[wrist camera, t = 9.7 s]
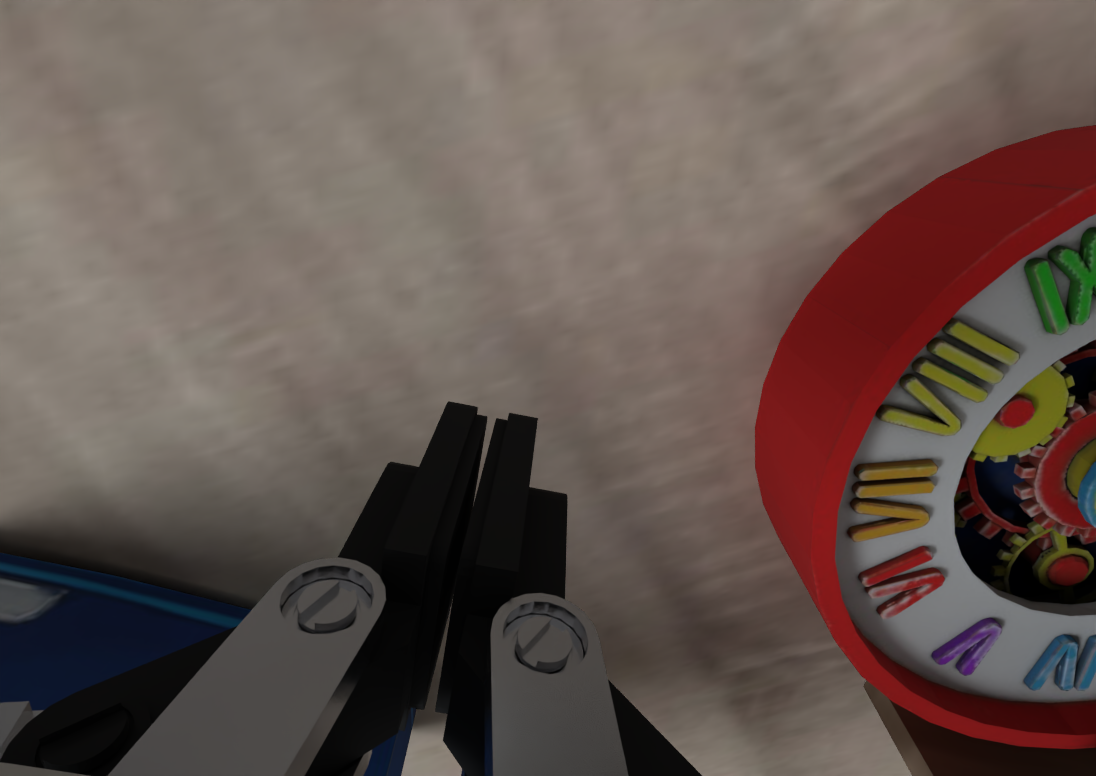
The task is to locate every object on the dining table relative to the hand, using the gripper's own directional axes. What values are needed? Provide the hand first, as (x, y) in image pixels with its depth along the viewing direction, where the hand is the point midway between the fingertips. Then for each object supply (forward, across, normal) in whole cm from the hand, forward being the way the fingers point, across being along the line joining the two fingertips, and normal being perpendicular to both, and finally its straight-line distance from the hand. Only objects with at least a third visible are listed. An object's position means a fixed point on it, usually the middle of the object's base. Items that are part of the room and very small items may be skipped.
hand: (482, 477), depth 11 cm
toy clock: (+11, -19, +1) cm, 22 cm away
